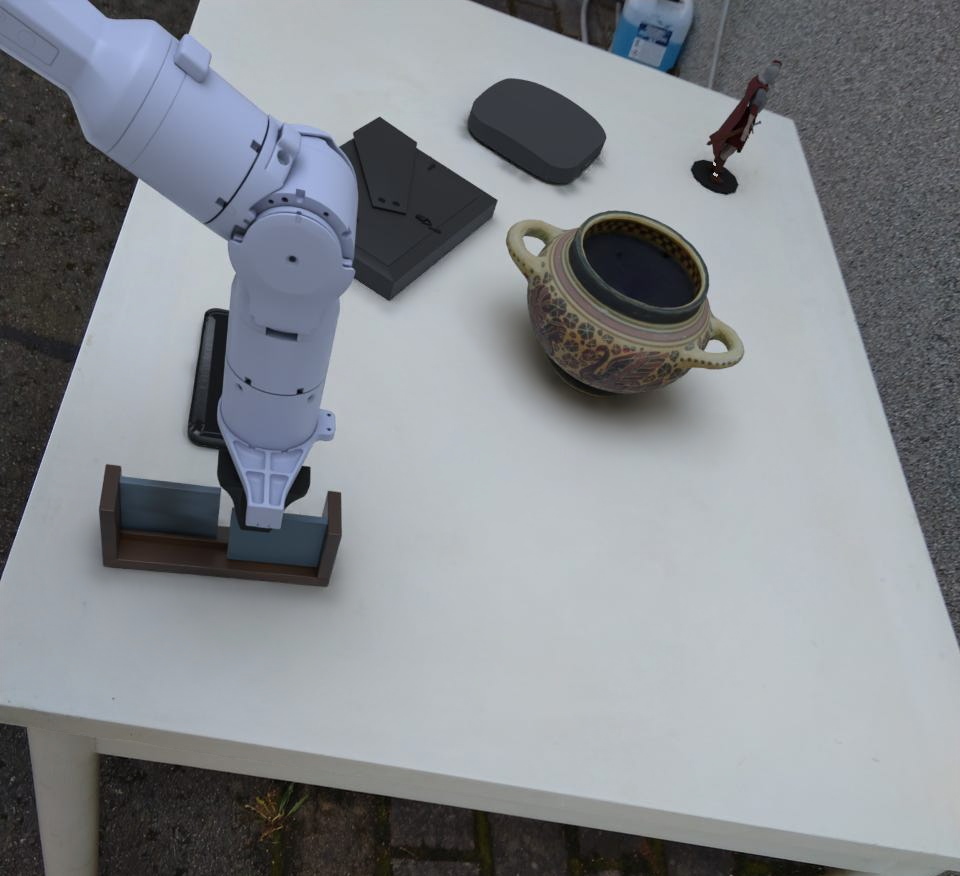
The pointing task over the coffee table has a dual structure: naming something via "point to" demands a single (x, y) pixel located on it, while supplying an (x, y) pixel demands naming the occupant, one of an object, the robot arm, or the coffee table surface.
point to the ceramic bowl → (620, 303)
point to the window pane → (280, 541)
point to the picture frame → (406, 208)
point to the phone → (209, 381)
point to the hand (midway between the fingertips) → (256, 508)
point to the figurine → (735, 133)
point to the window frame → (191, 532)
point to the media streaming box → (537, 129)
